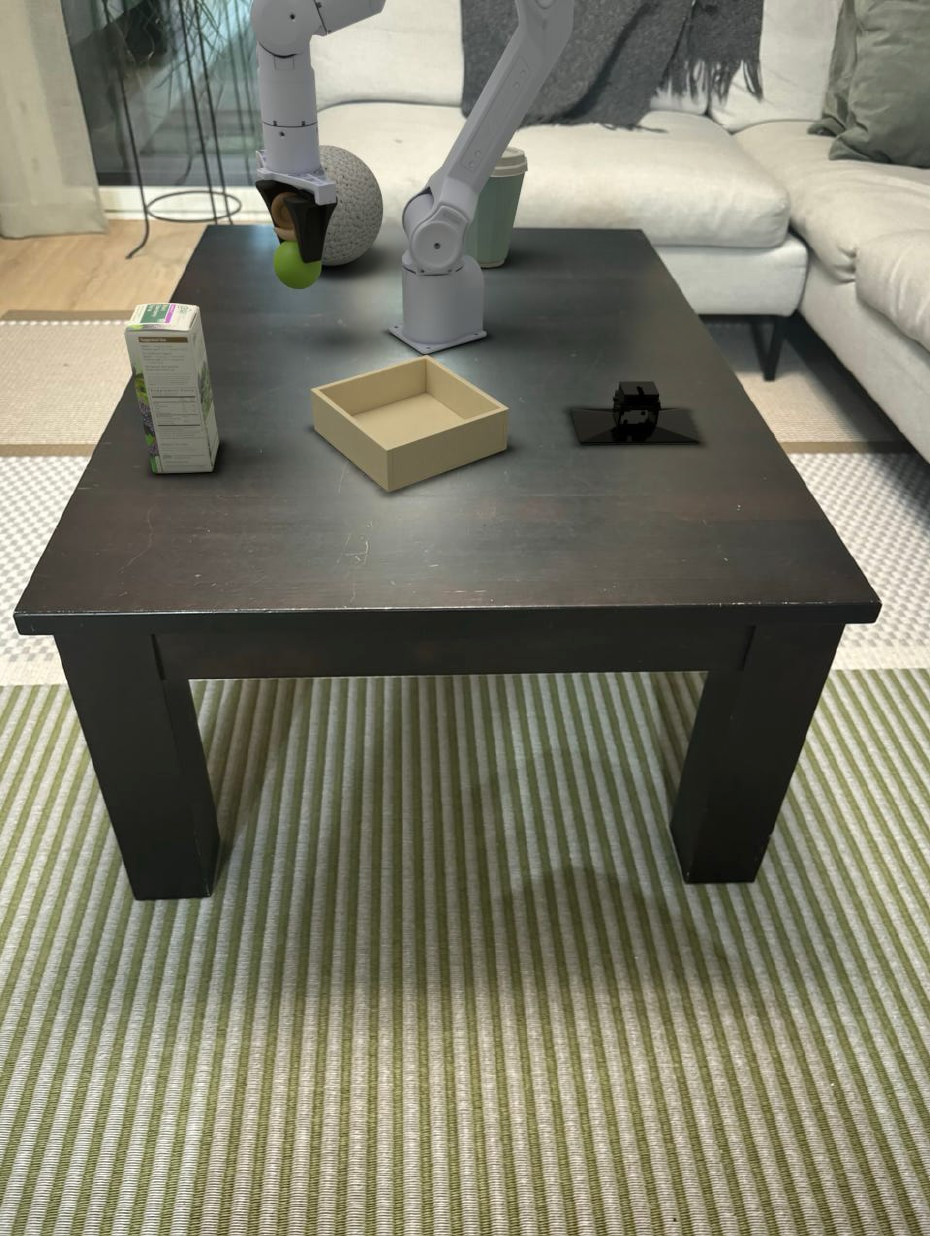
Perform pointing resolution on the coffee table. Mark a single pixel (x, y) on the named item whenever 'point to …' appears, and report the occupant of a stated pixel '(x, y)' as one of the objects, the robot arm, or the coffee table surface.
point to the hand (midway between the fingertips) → (300, 253)
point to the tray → (409, 421)
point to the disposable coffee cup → (497, 210)
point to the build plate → (634, 419)
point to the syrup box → (173, 386)
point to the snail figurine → (290, 250)
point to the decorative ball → (350, 207)
